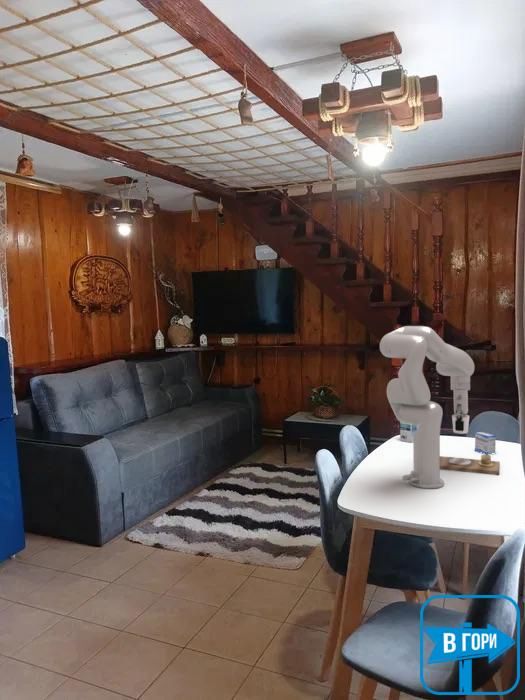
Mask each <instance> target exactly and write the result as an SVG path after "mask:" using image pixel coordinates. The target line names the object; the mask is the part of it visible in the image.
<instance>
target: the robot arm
mask: <svg viewBox="0 0 525 700" xmlns="http://www.w3.org/2000/svg"><path fill="white" fill-rule="evenodd" d="M379 351H380V352H381V354H382V355H383V356H384V357H386V358H391V359H394V358H395V359H405V361H404V362H403V364H401V367H400V368H399V371H398V375H397V376H398V377H397V378H396V377H395V378H392V379H391V380H389V382H388V383H387V386H386V397H387V399H388V403H389V405H390V408H391V409H392V411H393V413H394V416H395V417H396V419H397V420H398V421H399V423H400V422H403V423H408V424H415V425H419V426H420V427H419V429H418V430H417V431H416V433H415V434H414V438H413V443H412V444H413V445H412V446H413V451H412V452H413V454H412V455H413V456H412V457H413V462H412V463H413V470H410V474H404V475H402V480H403V481H405V482H406V481H409V484H410V485H412V486H414V487H416V488H420V489H421V488H422V489H438V488H442V487H444V485H445V481H444V480H443V479H442V478H441V477H440V476H441V474H440V473H441V469H440V456H441V453H440V452H441V450H440V447H441V443H440V442H441V439H440V438H441V426H442V421H443V420H442V419H443V415H444V413H443V407H442V406H441V405H440V404H439V403H437V402H435V401H432V400H431V392H430V388H429V385H428V383H427V381H426V378H425V375H424V372H423V366H424V363H425V358H427V359H428V360H430V361H432V362H434V363H436V365H435V369H436V371H437V373H438V374H439V375H441V376H446V377H450V390H451V391H453V413H454V414H456V421H455V430H456V431H464V421H463V414H465V415H468V412H469V394H468V391H470V390H471V376H472V375H473V374H474V372H475V363H474V361H473V358H471V356H470V355H469V354H468V353H467V352H466V351H464V350H462V349H460V348H458V347H456V346H454V345H451V344H449V343H446V342H445V341H444V340H443V339H442V338H441V337H440V336H439V334H437V332H436V331H435V330H434V329H432V328H431V327H429V326H424V325H407V326H406V325H405V326H402V327H399V328H397V329H395V330H393V331H391V332H388V333H386V334H385V335H384V336H383V337H382V338H381V340H380V342H379Z"/></svg>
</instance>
